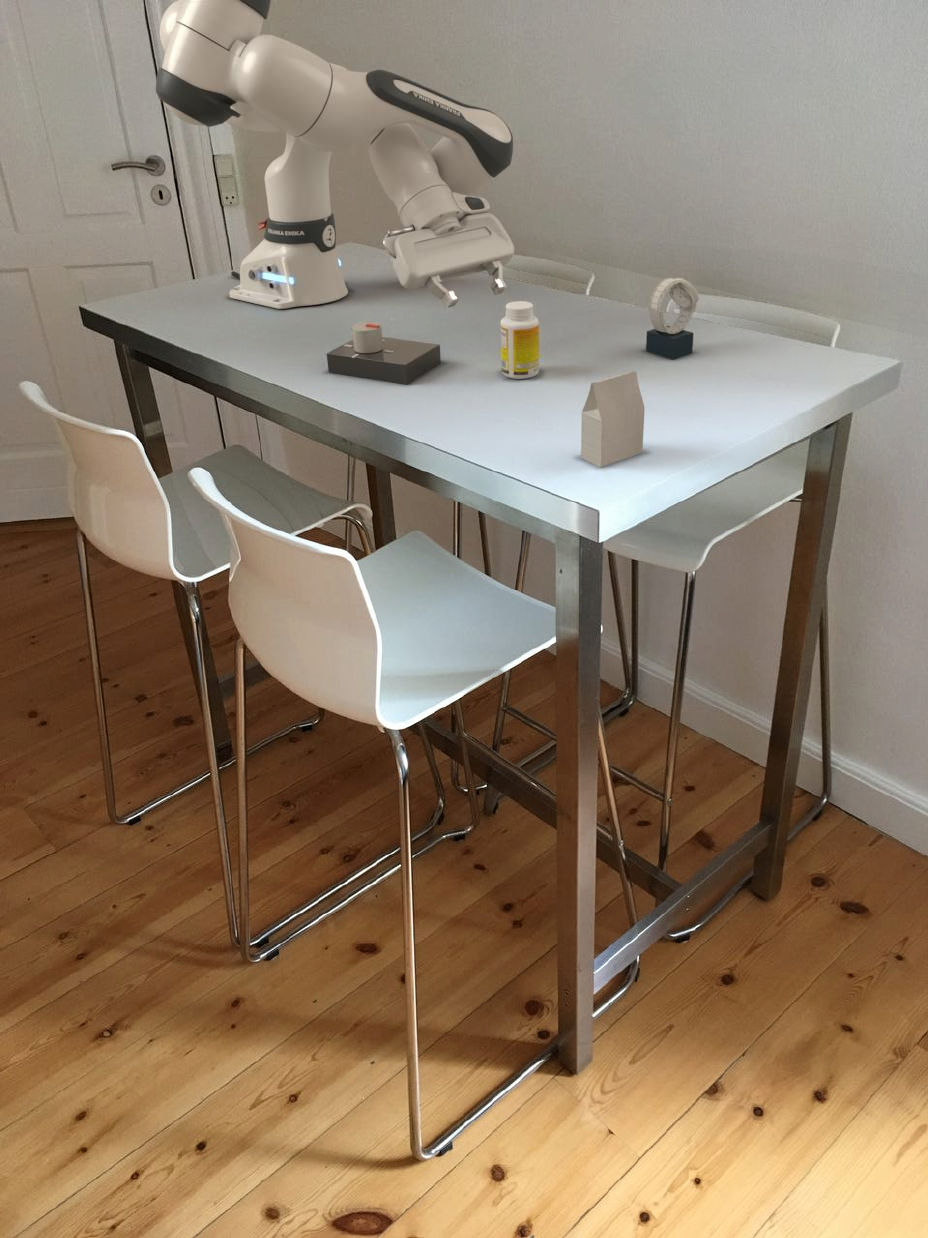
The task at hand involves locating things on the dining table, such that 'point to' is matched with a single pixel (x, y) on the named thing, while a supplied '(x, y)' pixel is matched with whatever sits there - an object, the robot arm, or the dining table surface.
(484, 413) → the dining table surface
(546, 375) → the dining table surface
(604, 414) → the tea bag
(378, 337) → the knob
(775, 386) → the dining table surface
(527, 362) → the supplement bottle
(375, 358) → the hob
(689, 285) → the watch
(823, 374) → the dining table surface
